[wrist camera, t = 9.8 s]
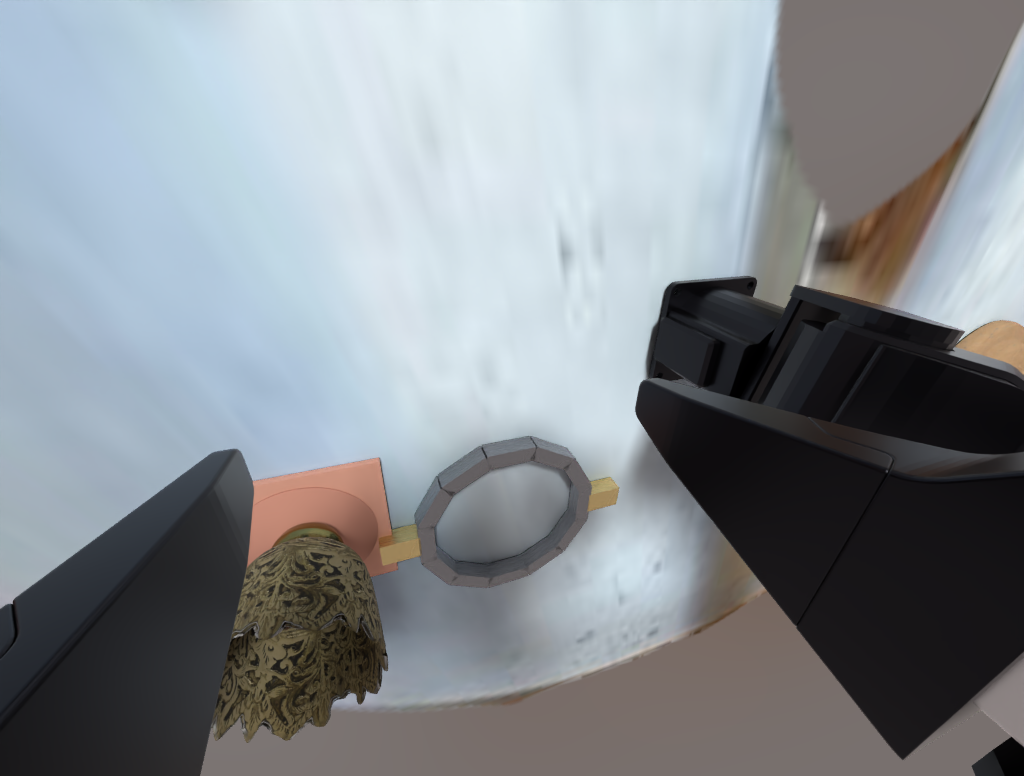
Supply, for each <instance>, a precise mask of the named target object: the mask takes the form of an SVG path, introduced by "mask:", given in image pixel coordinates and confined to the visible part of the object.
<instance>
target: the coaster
mask: <svg viewBox="0 0 1024 776" xmlns="http://www.w3.org/2000/svg"><path fill="white" fill-rule="evenodd" d="M253 485H254V500H253V511H252V522H251V534H250V545H249V555H248V564H247V567H248V566H249V565H250V564H251V563H252V562H253V561H254V560H255V559H256V558H258V557H259V556H260V555H261V554H263V553H264V552H266V551H267V550H269V549H271V548H272V546H273V544H274V543H275V541H276V540H277V539H278V538H279V537H280V536H281V535H282V534H283V533H284V532H285V531H286V530H288V529H290V528H291V527H293V526H296V525H299V524H303V523H309V522H317V523H323V524H327V525H329V526H331V527H333V528H334V529H335V530H336V531H337V532H338V533H339V534H340V536H341V538H342V540H343V542H344V544H345V545H347V546H349V547H350V548H351V549H353V550H354V551H355V552H356V553H357V554H358V555H359V556H360V558H361V559H362V561H363V562H364V563H365V565H366V567H367V570H368V572H369V574H370V577H373V576H377V575H380V574H384V573H388V572H391V571H395V570H398V565H397V562H396V563H392V564H388V565H384V566H383V564H382V558H381V553H380V548H379V538H380V537H384V536H388V535H392V530H391V524H390V518H389V513H388V507H387V501H386V495H385V489H384V483H383V478H382V472H381V466H380V460H379V458H375V459H369V460H364V461H359V462H353V463H348V464H343V465H337V466H332V467H327V468H321V469H316V470H311V471H305V472H300V473H295V474H289V475H284V476H279V477H273V478H268V479H263V480H257V481H253Z"/></svg>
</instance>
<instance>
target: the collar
mask: <svg viewBox="0 0 1024 776" xmlns="http://www.w3.org/2000/svg"><path fill="white" fill-rule="evenodd" d="M528 461H535V462H539V463H542V464H546V465H549V466H553V467H556V468H559V469H563V470H564V471H565V472H566V474H567V475H568V477H569V478H570V480H571V486H570V495H569V503H568V509H567V510H566V512H565V513H564V515H563V516H562V517H561V519H560V520H559V522H558V523H557V525H556V526H555V527H554V529H553V530H552V532H551V533H550V535H548V536H547V537H545V538H544V539H542V540H541V541H540V542H538V543H537V544H535V545H534V546H532V547H531V548H529V549H528V550H527V551H525V552H524V553H522V554H521V555H518V556H514V557H511V558H507V559H504V560H500V561H497V562H493V563H490V564H479V563H470V562H461V561H455V560H453V559H452V558H451V557H450V556H449V555H447V554H446V553H445V552H444V551H443V550H441V549H440V548H439V547H438V546H437V545H436V543H435V533H434V527H435V526H436V524H437V522H438V520H439V519H440V517H441V515H442V514H443V512H444V510H445V509H446V507H447V505H448V504H449V502H450V500H451V499H452V497H453V495H454V494H456V493H457V492H459V491H460V490H462V489H463V488H464V487H466V486H467V485H469V484H470V483H472V482H473V481H475V480H476V479H478V478H479V477H481V476H482V475H484V474H485V473H486V472H488V471H489V470H491V469H496V468H500V467H505V466H510V465H514V464H519V463H524V462H528ZM618 491H619V487H618V486H617V484H616V483H615V482H614V481H613V480H612V478H611V477H608V478H604V479H600V480H596V481H592V482H590V481H589V480H588V478H587V477H586V475H585V473H584V472H583V470H582V469H581V467H580V465H579V464H578V462H577V461H576V459H575V458H574V456H573V455H572V454H571V452H570V451H569V450H568V449H567V448H566V447H562V446H559V445H556V444H553V443H550V442H547V441H544V440H541V439H538V438H535V437H532V436H530V437H529V436H527V437H521V438H516V439H511V440H506V441H501V442H495V443H490V444H485V445H482V448H481V446H479V447H478V448H476V449H475V450H473V451H472V452H470V453H469V454H467V455H466V456H464V457H463V458H461V459H460V460H459V461H457V462H456V463H454V464H453V465H451V466H450V467H448V468H447V469H445V470H444V471H442V472H441V473H439V474H438V476H436V478H435V480H434V481H433V483H432V485H431V487H430V488H429V490H428V492H427V494H426V495H425V497H424V499H423V501H422V502H421V504H420V506H419V508H418V509H417V511H416V513H415V523H416V524H413V525H409V526H405V527H401V528H396V529H392V535H388V536H384V537H380V538H379V548H380V553H381V558H382V564H383V566H384V565H388V564H392V563H396V562H399V561H403V560H407V559H411V558H414V557H418V556H420V558H421V563H422V565H423V566H425V567H426V568H427V569H429V570H430V571H431V572H432V573H434V574H435V575H436V576H438V577H439V578H440V579H442V580H443V581H444V582H446V583H447V584H449V585H456V586H468V587H481V588H487V587H488V588H490V587H493V586H496V585H500V584H503V583H506V582H509V581H513V580H516V579H519V578H523V577H526V576H528V574H529V575H530V574H532V573H533V572H535V571H536V570H538V569H539V568H541V567H542V566H543V565H545V564H546V563H548V562H549V561H551V560H552V559H554V558H555V557H556V556H558V555H559V554H561V553H562V552H563V550H564V551H565V549H566V548H567V547H568V545H569V544H570V542H571V541H572V540H573V538H574V537H575V536H576V534H577V533H578V531H579V530H580V529H581V527H582V526H583V524H584V523H585V522H586V519H587V517H588V511H592V510H595V509H599V508H603V507H607V506H610V505H614V504H616V501H617V496H618Z"/></svg>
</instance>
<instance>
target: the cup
mask: <svg viewBox="0 0 1024 776" xmlns="http://www.w3.org/2000/svg"><path fill="white" fill-rule="evenodd" d="M385 646H386V645H385V641H384V636H383V631H382V626H381V621H380V616H379V610H378V606H377V601H376V596H375V592H374V588H373V584H372V581H371V577H370V574H369V572H368V570H367V567H366V565H365V563H364V562H363V561H362V559H361V558H360V556H359V555H358V554H357V553H356V552H355V551H354V550H353V549H351V548H350V547H349V546H347V545H345V544H344V542H343V540H342V538H341V536H340V534H339V533H338V532H337V531H336V530H335V529H334V528H333V527H331V526H329V525H327V524H323V523H317V522H309V523H303V524H299V525H296V526H293V527H291V528H290V529H288V530H286V531H285V532H284V533H283V534H282V535H281V536H280V537H279V538H278V539H277V540H276V541H275V543H274V544H273V546H272V548H271V549H269V550H267V551H266V552H264V553H263V554H261V555H260V556H259V557H258V558H256V559H255V560H254V561H253V562H252V563H251V564H250V565H249V566H248V567H247V569H246V574H245V579H244V583H243V588H242V592H241V597H240V601H239V606H238V610H237V614H236V619H235V623H234V628H233V632H232V637H231V641H230V645H229V650H228V654H227V659H226V663H225V668H224V672H223V676H222V681H221V685H220V690H219V694H218V699H217V703H216V707H215V712H214V716H213V721H212V725H211V728H213V731H214V738H215V740H216V741H217V740H218V739H220V738H221V737H222V736H223V735H224V734H225V733H226V732H227V731H228V730H229V729H230V727H232V726H233V725H235V723H236V722H237V721H238V719H239V718H241V730H242V732H243V734H244V738H245V740H246V742H247V743H248V742H249V741H250V740H251V739H252V738H253V736H254V735H255V733H256V732H257V730H258V728H259V726H265V727H267V729H269V730H270V732H271V734H274V735H277V736H279V737H281V738H282V739H284V740H290V739H292V738H293V737H294V736H295V735H296V734H297V733H298V732H299V731H300V730H301V729H302V728H303V727H305V726H306V725H307V724H309V723H311V724H312V725H314V726H316V727H322V726H325V725H326V724H327V722H328V720H329V719H330V716H331V714H330V711H331V707H332V704H333V702H334V701H336V700H338V699H339V700H340V699H344V698H346V696H347V695H348V694H350V693H354V694H356V696H357V702H358V704H362V703H363V701H364V699H365V695H366V690H367V692H370V693H374V694H377V693H378V691H379V689H380V687H381V681H382V667H383V669H384V670H385V671H388V656H387V653H386V648H385ZM348 692H350V693H348ZM338 697H340V698H338ZM336 698H337V699H336ZM334 699H336V700H334ZM333 700H334V701H333Z"/></svg>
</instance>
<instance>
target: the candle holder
mask: <svg viewBox="0 0 1024 776" xmlns="http://www.w3.org/2000/svg"><path fill="white" fill-rule="evenodd" d="M955 347H957V348H960V349H963V350H967V351H970V352H973V353H977V354H980V355H983V356H987V357H990V358H993V359H997V360H1000V361H1003V362H1006V363H1008V364H1011V365H1012V366H1014V367H1015V368H1017V369H1018V370H1019V371H1020V372H1021V373H1022V374H1023V375H1024V327H1023V326H1021V325H1020V324H1018V323H1015V322H1011V321H1003V320H1000V321H994V322H991V323H988V324H986V325H984V326H982V327H980V328H978V329H977V330H975V331H974V332H972V333H971V334H969V335H968V336H967V337H965V338H964V339H963V340H962V341H961V342H959V343H958V344H957V345H956V346H955Z"/></svg>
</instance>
